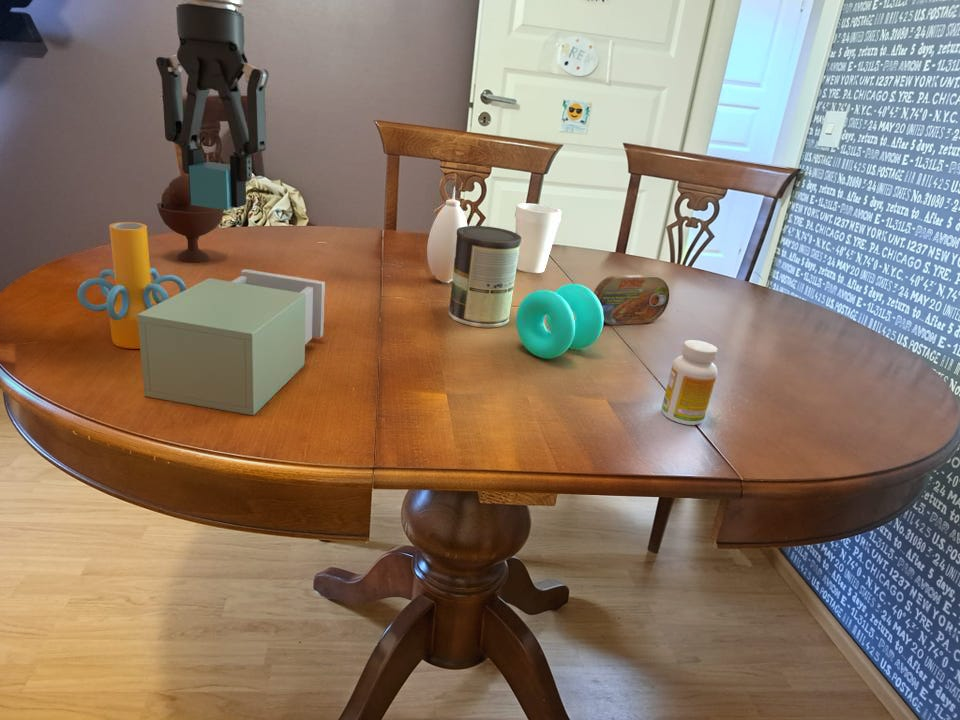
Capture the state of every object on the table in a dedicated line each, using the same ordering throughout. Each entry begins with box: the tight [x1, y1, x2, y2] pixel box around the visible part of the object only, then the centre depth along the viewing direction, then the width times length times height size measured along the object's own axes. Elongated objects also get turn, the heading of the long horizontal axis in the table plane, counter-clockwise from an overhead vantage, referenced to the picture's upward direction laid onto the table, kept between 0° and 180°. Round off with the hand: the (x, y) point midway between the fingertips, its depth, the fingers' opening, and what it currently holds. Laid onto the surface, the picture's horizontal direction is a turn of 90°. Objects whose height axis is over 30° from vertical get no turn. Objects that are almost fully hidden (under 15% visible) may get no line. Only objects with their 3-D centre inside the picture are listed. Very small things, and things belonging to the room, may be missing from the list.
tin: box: [593, 274, 670, 326], centre depth 115 cm, size 15×3×8 cm, turn 114°
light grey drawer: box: [230, 268, 326, 346], centre depth 88 cm, size 20×11×8 cm, turn 172°
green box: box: [137, 277, 306, 416], centre depth 77 cm, size 15×13×10 cm
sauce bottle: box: [426, 185, 468, 284], centre depth 123 cm, size 8×8×18 cm
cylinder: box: [76, 221, 187, 350], centre depth 83 cm, size 12×10×15 cm
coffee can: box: [448, 225, 522, 329], centre depth 107 cm, size 10×10×14 cm
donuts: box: [515, 283, 605, 360], centre depth 98 cm, size 10×10×10 cm
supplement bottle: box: [661, 339, 718, 426], centre depth 83 cm, size 5×5×10 cm
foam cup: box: [514, 202, 562, 274], centre depth 140 cm, size 10×9×13 cm
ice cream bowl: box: [156, 174, 225, 264], centre depth 118 cm, size 11×11×15 cm
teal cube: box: [188, 161, 236, 211], centre depth 87 cm, size 5×5×5 cm
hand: (218, 202), depth 88 cm, fingers closed on teal cube, 5 cm apart
